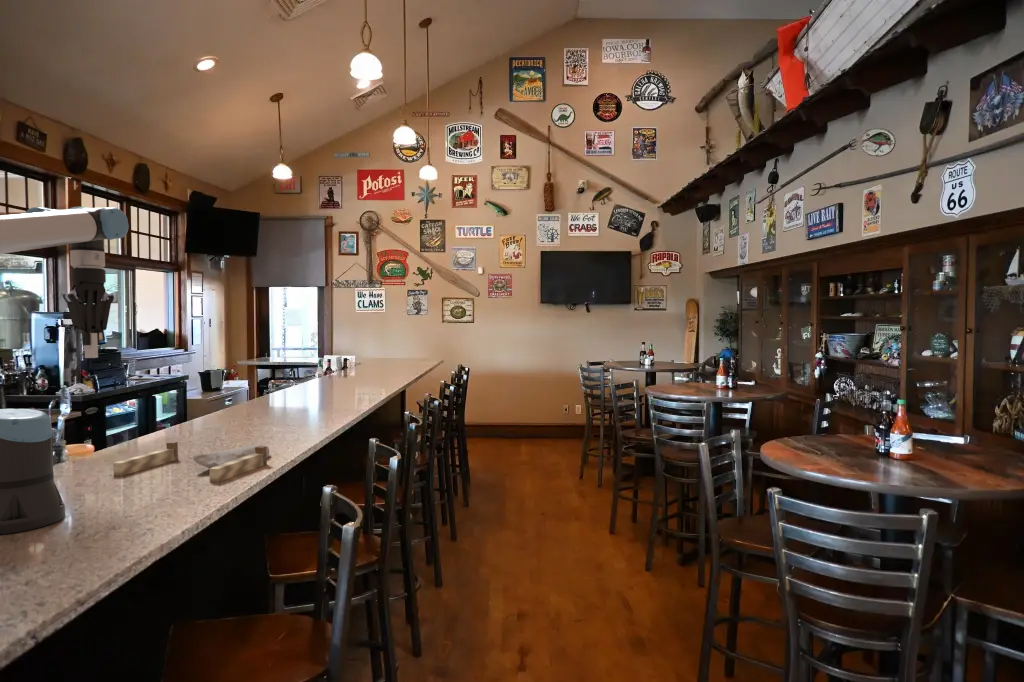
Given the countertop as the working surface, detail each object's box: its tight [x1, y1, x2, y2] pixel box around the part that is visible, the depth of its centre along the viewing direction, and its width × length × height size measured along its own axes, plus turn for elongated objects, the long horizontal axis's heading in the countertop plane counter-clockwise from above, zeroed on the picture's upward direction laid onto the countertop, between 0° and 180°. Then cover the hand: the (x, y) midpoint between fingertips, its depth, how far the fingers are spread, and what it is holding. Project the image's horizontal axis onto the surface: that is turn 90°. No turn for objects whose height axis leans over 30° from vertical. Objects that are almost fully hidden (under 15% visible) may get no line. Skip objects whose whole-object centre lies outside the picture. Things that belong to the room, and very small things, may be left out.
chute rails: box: [112, 441, 268, 483], centre depth 173 cm, size 20×33×5 cm, turn 76°
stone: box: [193, 444, 270, 469], centre depth 180 cm, size 12×5×25 cm
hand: (91, 357), depth 164 cm, fingers closed
